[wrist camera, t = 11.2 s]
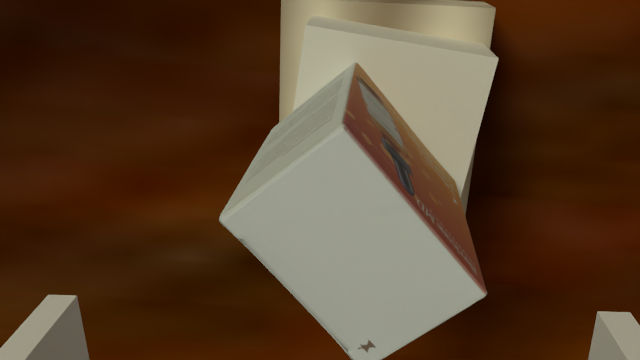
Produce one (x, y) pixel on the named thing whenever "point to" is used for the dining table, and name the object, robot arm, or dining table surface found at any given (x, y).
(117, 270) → the dining table surface
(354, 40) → the tower top slab
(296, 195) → the small box
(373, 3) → the tower base slab
